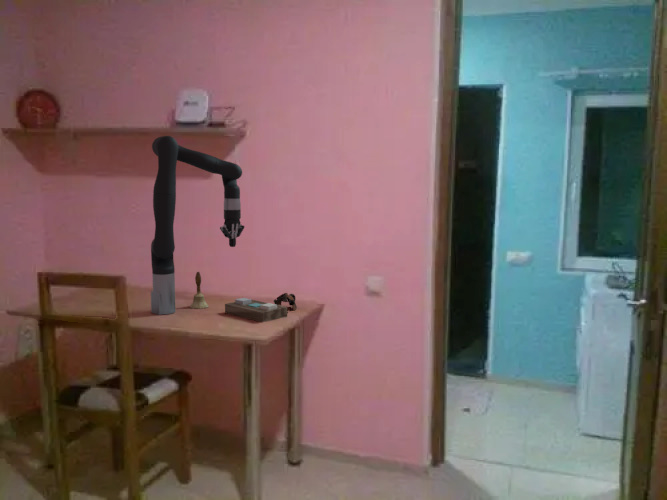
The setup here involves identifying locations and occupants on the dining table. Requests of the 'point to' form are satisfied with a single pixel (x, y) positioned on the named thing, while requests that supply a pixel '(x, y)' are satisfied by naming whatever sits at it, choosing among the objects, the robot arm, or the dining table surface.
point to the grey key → (243, 301)
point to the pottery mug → (286, 297)
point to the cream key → (268, 306)
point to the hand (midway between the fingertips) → (232, 246)
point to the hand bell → (198, 295)
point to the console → (255, 311)
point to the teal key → (254, 305)
